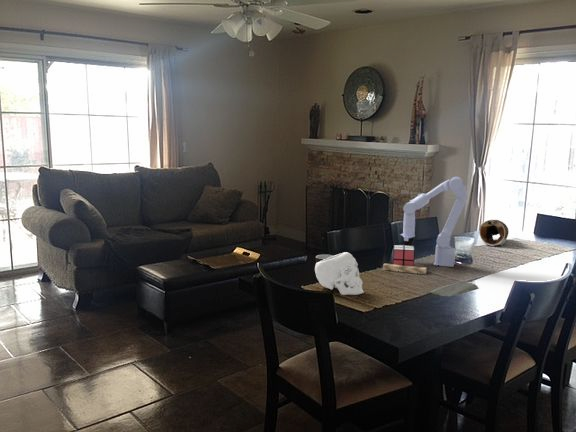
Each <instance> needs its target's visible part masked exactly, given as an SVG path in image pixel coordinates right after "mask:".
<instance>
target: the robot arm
mask: <svg viewBox="0 0 576 432" xmlns="http://www.w3.org/2000/svg"><path fill="white" fill-rule="evenodd" d="M450 190H451V191H452V192H453V193H454V195H455V197H456V198H455V199H456V200H455V201H454V203H453V206H452V208H451V210H450V213H449V214H448V218H447V220H446V222H445V225H444V226H443V228H442V231H441V232H440V233H438V235H437V238H436V240H435V241H436V245H435V254H434V262H433V265H432V266H438V265H439V267H440V266H441V267H452V268H454V265H455V263H456V258H455V257H456V248H455V247H452V246H451V245H450V243H451V239H452V238H451V236H452V234H453V231H454V229H455V227H456V224H457V222H458V220H459V218H460V216H461V214H462V211H463V209H464V206H465V204H466V202H467V200H468V194H467V193H468V192H467V189H466V184H465V182H464V180H463V179H462V178H461V177H460V176H453V177H451V178H450V179H447V180H445V181H443V182H441V183H440V184H438V185H437V186H436V187H433V188H432V189H431V190H430V191H429V192H427V193H423V192H422V193H418V194H417V196H416V197H414V198H413V199H409V202H408V201H407V202H406V203H405V204H404V205H403V212H404V213H403V221H402V222H403V224H402V225H403V226H402V229H403V231H402V233H400V236H402V237H403V238H402V242H403V246H413V244H414V242H415V240H416V238H415V237H416V234H415V231H416V229H415V228H416V211H417V210H420V209H421V208H423V207H424V206H426V205H428V204H429V203H430V199H432V198H434V197H436V196H437V195H439V194H441V193H442V192H447V191H450Z"/></svg>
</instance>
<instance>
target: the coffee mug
mask: <svg viewBox="0 0 576 432" xmlns="http://www.w3.org/2000/svg"><path fill="white" fill-rule="evenodd" d="M331 256H334V255H332V254H318V255H316V256H315V261H316V263H318V262H320V261H322V260H324V259H326V258H329V257H331ZM316 263H315V264H316Z"/></svg>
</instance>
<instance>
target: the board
mask: <svg viewBox="0 0 576 432" xmlns="http://www.w3.org/2000/svg"><path fill="white" fill-rule="evenodd" d="M382 270H383V271H388V270H391V271H390V272H398V271H399V272H400V273H408V274H417V273H418V274H419V275H426V274H427V267H424V266H423V267H422V266H415V265H414V266H405V265H395V264H393V263H392V264H391V263H383V265H382ZM418 274H417V275H418Z"/></svg>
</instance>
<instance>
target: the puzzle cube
mask: <svg viewBox="0 0 576 432" xmlns="http://www.w3.org/2000/svg"><path fill="white" fill-rule="evenodd" d="M392 251H393V252H392V264H395V265H405V266H415V253H416V252H415V246H414V245H412V246H405V245H404V244H402V245H401V244H399V245H398V244H397V245H395V244H394V245H393V249H392Z"/></svg>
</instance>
